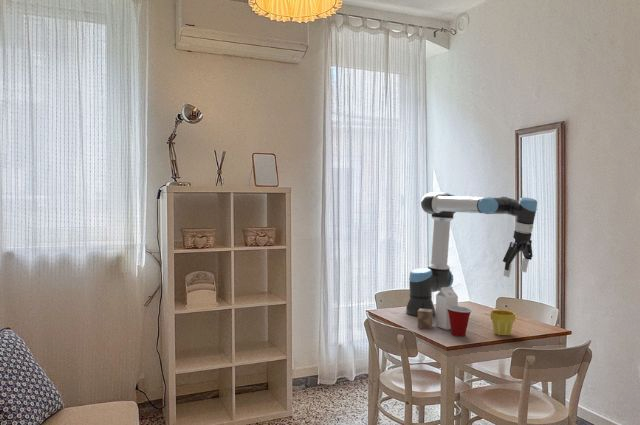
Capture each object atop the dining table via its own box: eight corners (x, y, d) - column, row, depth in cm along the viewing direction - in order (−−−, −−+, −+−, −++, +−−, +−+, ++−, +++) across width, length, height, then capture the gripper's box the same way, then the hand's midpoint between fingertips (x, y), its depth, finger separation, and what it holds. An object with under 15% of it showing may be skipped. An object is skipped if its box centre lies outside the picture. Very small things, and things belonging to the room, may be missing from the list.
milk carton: (435, 326, 222) (435, 286, 222) (446, 324, 225) (446, 285, 225) (446, 330, 216) (446, 288, 215) (457, 328, 219) (458, 287, 219)
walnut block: (417, 327, 220) (417, 310, 220) (419, 324, 225) (419, 308, 225) (430, 329, 217) (430, 311, 217) (432, 326, 223) (432, 309, 223)
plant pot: (519, 337, 204) (519, 314, 204) (496, 337, 204) (496, 315, 203) (508, 330, 214) (508, 309, 214) (486, 331, 214) (486, 309, 214)
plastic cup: (473, 338, 202) (473, 310, 201) (447, 337, 203) (448, 309, 203) (470, 332, 212) (470, 305, 212) (445, 330, 214) (445, 304, 214)
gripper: (514, 236, 207) (506, 281, 212) (545, 230, 221) (537, 272, 226) (499, 231, 213) (492, 275, 218) (531, 226, 227) (523, 267, 232)
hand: (515, 273), depth 222 cm, fingers open, 13 cm apart
